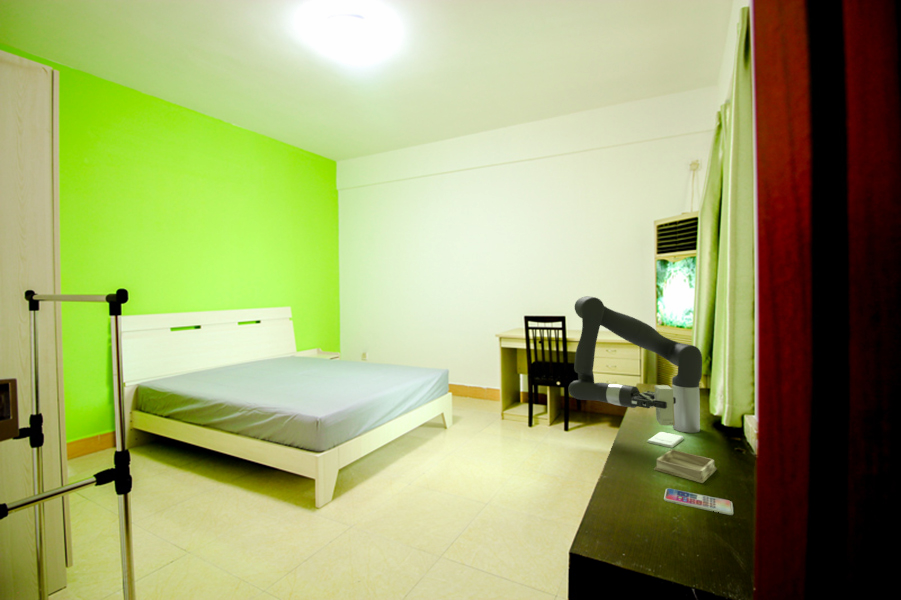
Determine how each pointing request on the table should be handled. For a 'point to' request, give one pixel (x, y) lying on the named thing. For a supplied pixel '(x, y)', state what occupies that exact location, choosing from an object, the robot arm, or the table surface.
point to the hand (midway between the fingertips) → (671, 403)
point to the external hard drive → (666, 439)
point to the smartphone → (699, 501)
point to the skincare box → (667, 414)
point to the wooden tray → (686, 465)
